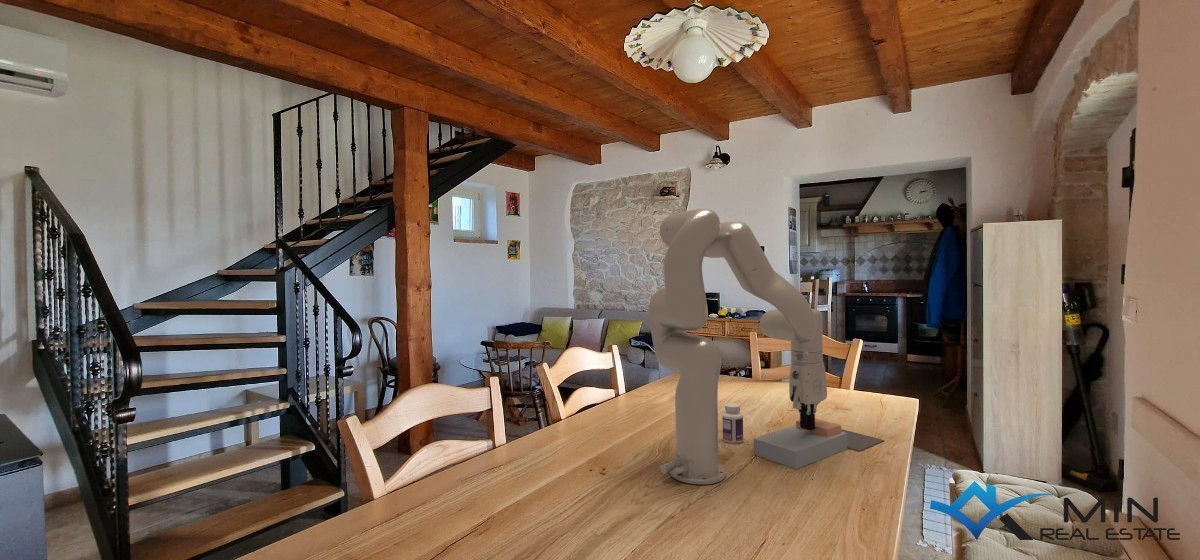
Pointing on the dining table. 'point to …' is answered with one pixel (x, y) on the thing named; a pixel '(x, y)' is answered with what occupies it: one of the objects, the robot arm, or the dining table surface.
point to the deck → (798, 446)
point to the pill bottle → (732, 424)
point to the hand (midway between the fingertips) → (807, 428)
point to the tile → (822, 428)
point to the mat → (860, 441)
